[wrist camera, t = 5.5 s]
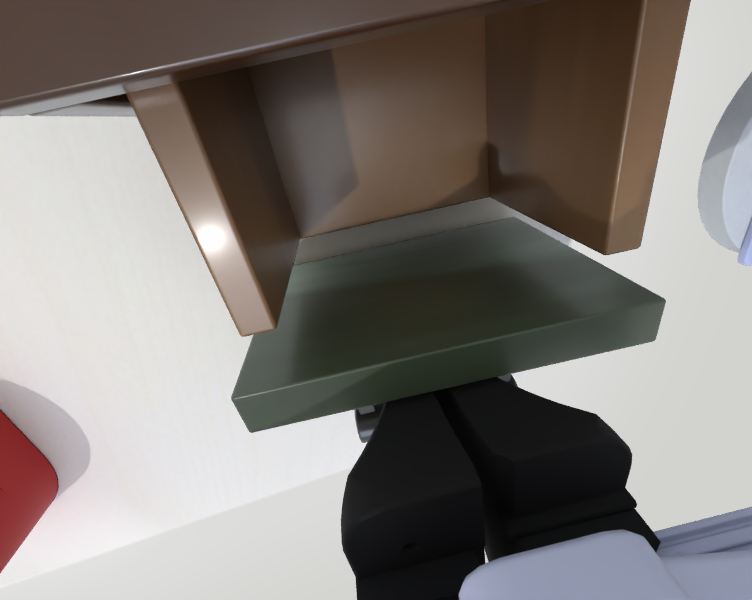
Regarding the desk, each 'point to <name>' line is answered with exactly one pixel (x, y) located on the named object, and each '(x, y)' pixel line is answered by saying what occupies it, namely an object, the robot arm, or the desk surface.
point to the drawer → (425, 200)
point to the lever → (21, 488)
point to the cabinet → (182, 42)
